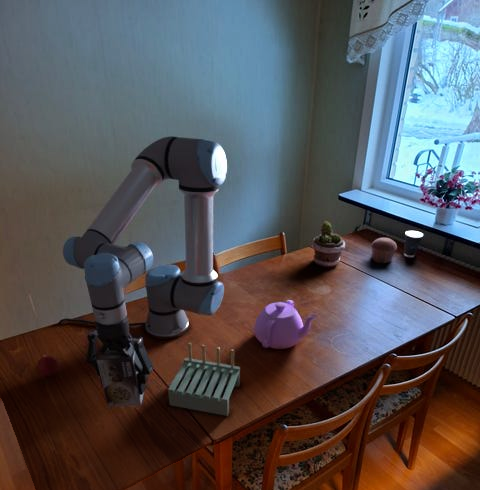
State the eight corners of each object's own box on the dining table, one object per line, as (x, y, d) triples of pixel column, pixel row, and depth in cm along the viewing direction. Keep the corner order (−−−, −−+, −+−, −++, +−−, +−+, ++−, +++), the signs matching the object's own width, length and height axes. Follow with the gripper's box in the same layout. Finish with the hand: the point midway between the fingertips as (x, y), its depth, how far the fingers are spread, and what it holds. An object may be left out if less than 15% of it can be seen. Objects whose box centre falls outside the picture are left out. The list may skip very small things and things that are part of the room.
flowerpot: (348, 267, 203) (355, 225, 192) (317, 271, 199) (322, 229, 188) (334, 254, 214) (340, 214, 203) (304, 258, 211) (308, 217, 200)
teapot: (301, 367, 142) (305, 331, 135) (241, 347, 151) (242, 312, 143) (324, 333, 158) (329, 299, 151) (269, 316, 167) (271, 284, 160)
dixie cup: (404, 250, 219) (409, 229, 213) (420, 255, 215) (425, 233, 209) (397, 255, 214) (402, 233, 208) (413, 260, 210) (419, 238, 204)
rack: (169, 405, 127) (165, 369, 120) (186, 374, 139) (183, 340, 132) (227, 416, 124) (227, 380, 117) (239, 383, 135) (240, 349, 128)
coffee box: (144, 389, 123) (137, 342, 114) (141, 406, 118) (133, 358, 109) (111, 390, 123) (101, 343, 114) (106, 407, 117) (95, 359, 108)
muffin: (371, 263, 206) (375, 243, 201) (366, 253, 216) (370, 234, 210) (397, 264, 206) (401, 244, 201) (391, 254, 215) (395, 234, 210)
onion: (53, 367, 141) (48, 346, 137) (64, 374, 138) (58, 354, 134) (36, 376, 137) (30, 355, 133) (46, 384, 134) (40, 363, 130)
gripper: (59, 319, 105) (78, 389, 117) (149, 333, 101) (158, 405, 113) (76, 303, 111) (92, 371, 123) (161, 315, 107) (169, 385, 119)
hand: (124, 387), depth 118 cm, fingers closed on coffee box, 10 cm apart
